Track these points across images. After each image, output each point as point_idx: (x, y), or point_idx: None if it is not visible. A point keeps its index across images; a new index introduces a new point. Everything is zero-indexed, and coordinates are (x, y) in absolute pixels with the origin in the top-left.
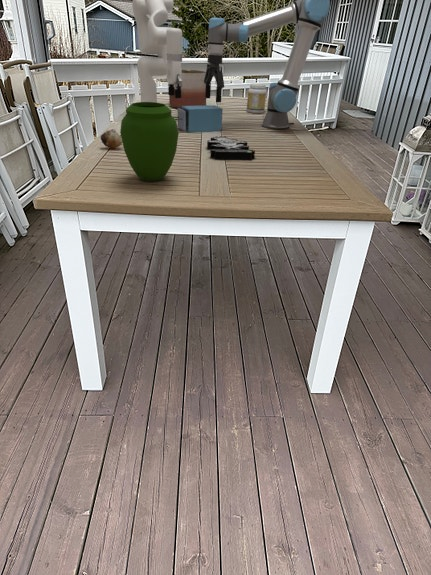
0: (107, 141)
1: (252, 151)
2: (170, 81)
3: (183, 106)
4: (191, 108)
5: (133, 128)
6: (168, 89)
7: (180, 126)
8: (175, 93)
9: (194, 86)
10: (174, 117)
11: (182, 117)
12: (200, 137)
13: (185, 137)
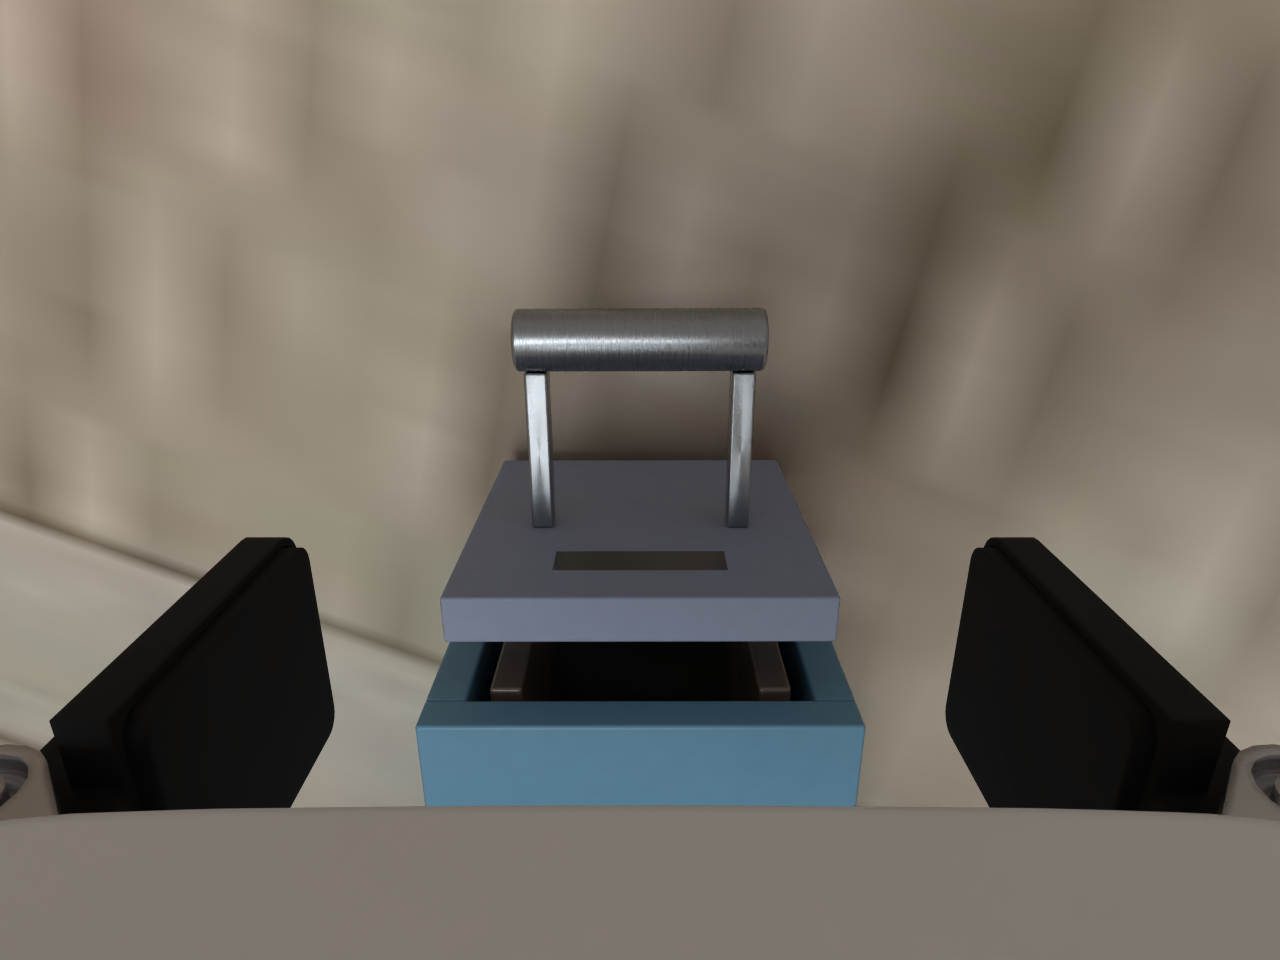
0: None
1: None
2: (251, 946)
3: (799, 736)
4: (517, 800)
5: None
6: (1130, 641)
7: (642, 470)
8: (172, 619)
9: None
10: (730, 437)
11: (535, 537)
12: (169, 556)
13: (173, 356)
